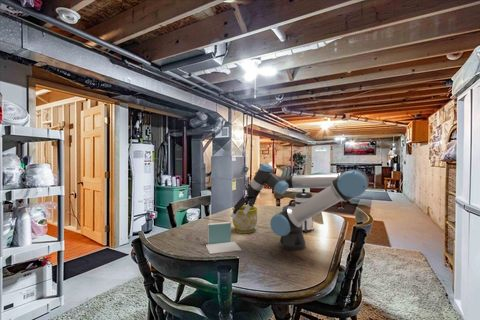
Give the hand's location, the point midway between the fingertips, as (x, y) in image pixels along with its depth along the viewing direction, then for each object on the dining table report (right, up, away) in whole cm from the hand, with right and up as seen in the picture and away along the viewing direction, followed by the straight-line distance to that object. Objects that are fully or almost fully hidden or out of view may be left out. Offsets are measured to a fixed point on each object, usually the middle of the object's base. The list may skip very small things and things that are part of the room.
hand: (238, 215), depth 151 cm
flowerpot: (+4, -17, +25) cm, 31 cm away
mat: (-9, -17, -7) cm, 21 cm away
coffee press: (+45, -17, +27) cm, 55 cm away
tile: (-12, -17, +1) cm, 21 cm away
